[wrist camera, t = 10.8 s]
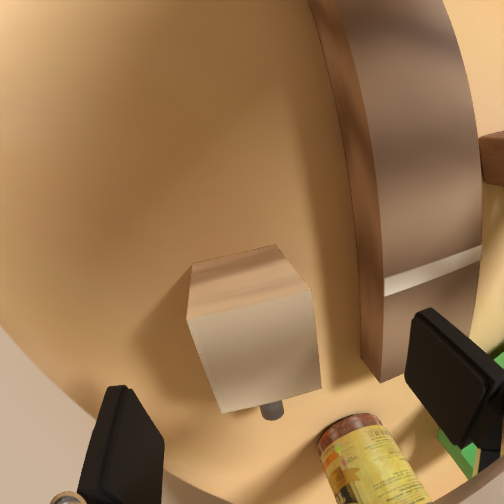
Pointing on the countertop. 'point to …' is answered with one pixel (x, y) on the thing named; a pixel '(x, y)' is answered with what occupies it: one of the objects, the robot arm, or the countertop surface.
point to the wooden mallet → (492, 158)
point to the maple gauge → (254, 330)
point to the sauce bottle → (367, 464)
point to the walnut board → (405, 166)
